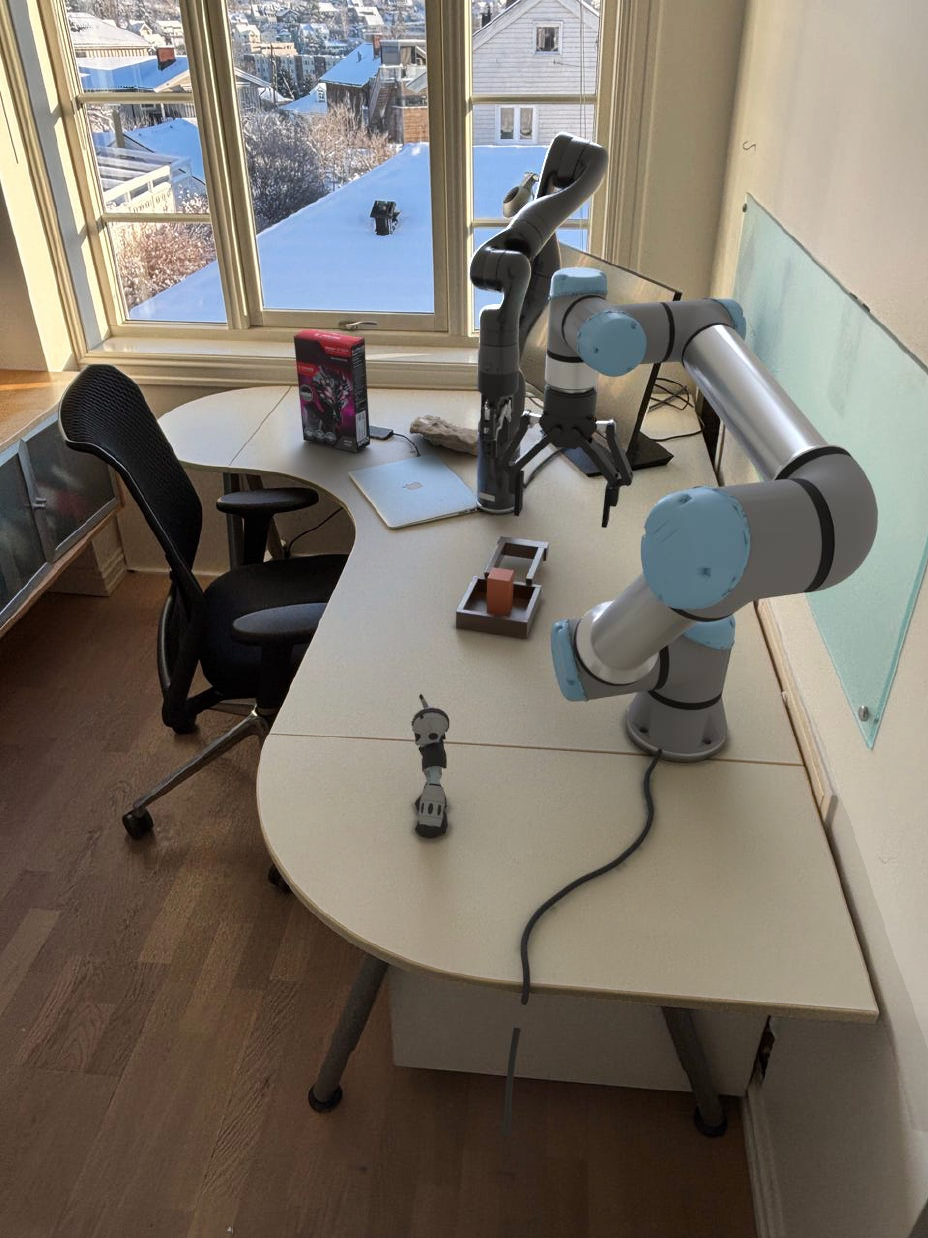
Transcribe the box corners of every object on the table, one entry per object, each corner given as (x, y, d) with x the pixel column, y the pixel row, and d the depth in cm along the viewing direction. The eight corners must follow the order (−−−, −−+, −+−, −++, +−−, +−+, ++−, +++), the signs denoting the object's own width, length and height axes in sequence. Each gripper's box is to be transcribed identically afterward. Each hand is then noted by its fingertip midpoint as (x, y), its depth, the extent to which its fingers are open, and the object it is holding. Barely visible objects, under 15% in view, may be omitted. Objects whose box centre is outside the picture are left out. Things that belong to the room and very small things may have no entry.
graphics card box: (301, 441, 235) (290, 334, 220) (317, 432, 240) (307, 326, 225) (357, 454, 229) (350, 345, 213) (372, 444, 234) (367, 337, 218)
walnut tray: (526, 639, 163) (527, 617, 161) (455, 627, 166) (456, 606, 164) (555, 563, 186) (556, 543, 183) (492, 554, 188) (493, 534, 186)
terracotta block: (507, 618, 168) (509, 581, 163) (486, 615, 168) (487, 578, 164) (512, 607, 171) (514, 570, 166) (491, 604, 172) (492, 567, 167)
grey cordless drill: (452, 871, 119) (452, 756, 108) (414, 872, 119) (410, 757, 108) (447, 767, 136) (446, 657, 124) (413, 768, 135) (410, 658, 124)
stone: (393, 439, 229) (398, 415, 226) (412, 430, 242) (417, 408, 240) (473, 463, 225) (479, 439, 223) (488, 453, 238) (493, 431, 236)
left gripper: (507, 380, 160) (505, 466, 169) (528, 355, 171) (525, 437, 180) (466, 376, 162) (466, 461, 171) (489, 351, 173) (488, 433, 182)
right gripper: (662, 384, 131) (645, 517, 143) (492, 367, 136) (488, 497, 148) (657, 402, 125) (639, 540, 137) (479, 384, 130) (476, 518, 142)
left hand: (496, 449), depth 176 cm, fingers open, 8 cm apart
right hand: (561, 518), depth 142 cm, fingers open, 13 cm apart
